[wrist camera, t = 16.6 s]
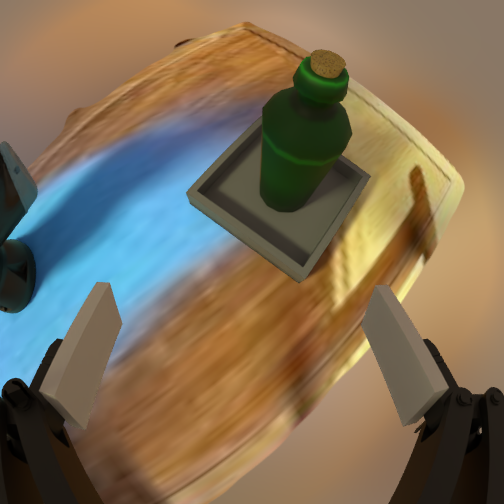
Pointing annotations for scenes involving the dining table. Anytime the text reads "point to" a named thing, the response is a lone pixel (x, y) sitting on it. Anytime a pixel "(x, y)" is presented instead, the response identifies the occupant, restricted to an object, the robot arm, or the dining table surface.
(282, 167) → the bottle
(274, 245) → the tray
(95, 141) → the dining table surface
